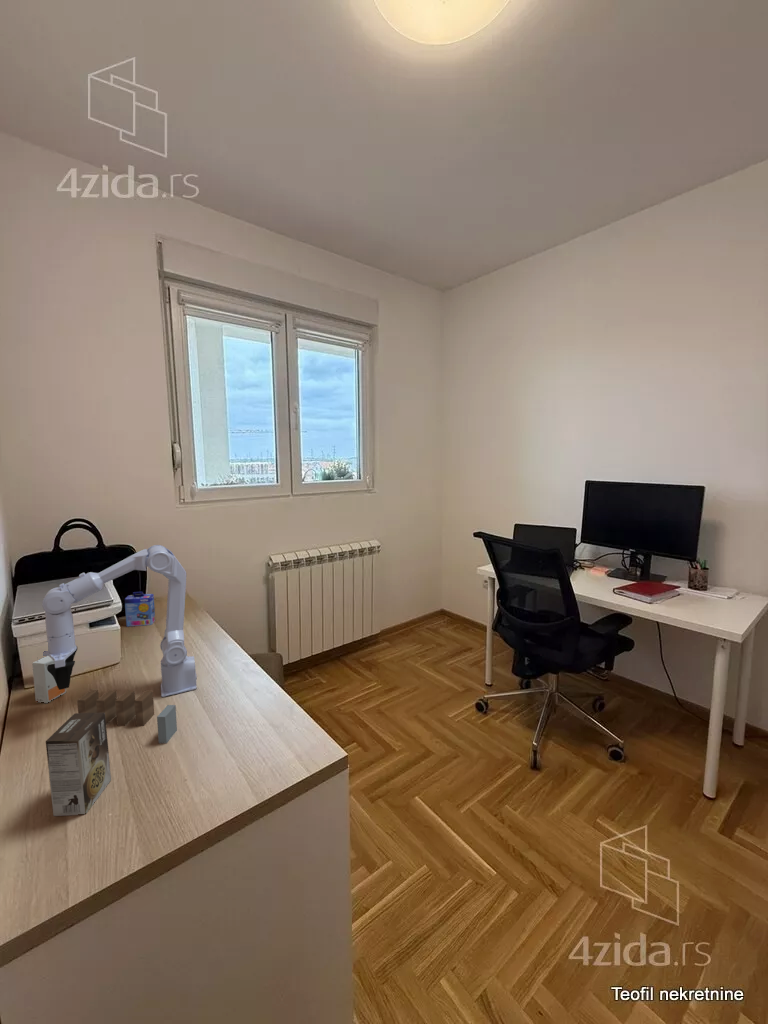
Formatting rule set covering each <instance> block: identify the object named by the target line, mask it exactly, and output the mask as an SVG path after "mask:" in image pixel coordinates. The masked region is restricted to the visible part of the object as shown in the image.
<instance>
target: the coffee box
mask: <svg viewBox="0 0 768 1024" xmlns="http://www.w3.org/2000/svg"><path fill="white" fill-rule="evenodd" d="M108 742H109V741H108V731H107V725H106V720H105V713H78V712H77V713H73V714H72V715H71V716H70V718H68V719H67V720H66V721H65V722H64V723H63V724H62V725H60V727H59V728H58V729H57V730H55V732H54V733H53V734H52V735H50V736H49V738H47V739H46V740H45V748H46V759H47V766H48V768H47V769H48V777H49V785H50V786H49V787H50V795H51V796H50V797H51V805H52V814H53V815H52V816H53V817H61V816H62V817H63V816H79V815H78V814H84V815H86V814H88V813H89V811H90V810H91V808H92V807H93V805H94V804H95V803H94V802H96V801H97V800H98V799H99V798H100V795H102V793H103V792H104V791H105V789H106V787H107V786H108V785H109V783H110V782H111V781H112V775H111V765H110V763H111V762H110V754H109V753H110V752H109V743H108ZM88 810H89V811H88ZM85 813H86V814H85Z"/></svg>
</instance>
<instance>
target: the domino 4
mask: <svg viewBox="0 0 768 1024" xmlns="http://www.w3.org/2000/svg"><path fill="white" fill-rule="evenodd" d="M154 701H155V700H154V690H152V689H150V690H144V691H143V692H142V693H141V694H140V695H139V696H138V697H137V698H135V701H134V703H135V716H134V717H135V726H136V727H144V726H145V725H147V723H148V722H149V721H150V720H151V719H152V717H154V716H155V704H154Z"/></svg>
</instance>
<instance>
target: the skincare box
mask: <svg viewBox="0 0 768 1024" xmlns="http://www.w3.org/2000/svg"><path fill="white" fill-rule="evenodd" d="M31 664H32V673H33V675H32V676H33V677H32V678H33V685H34V686H33V688H34V697H35V698H34V699H35V702H36V701H38V702H37V703H41V702H44V703H43V704H48V702H49V703H50V702H51V700H52V701H53V699H54V700H55V699H57V698H59V697H61V696H62V695H65V694H66V693H67V688H65V689H61V690H59V689H58V687H57V684H56V682H55V679H54V677H53V676H52V675H51V673H49V672H48V670H47V666H48V665H51V664H55V662H54V661H53V660H52V659H51V658H50V657H49V656H46V657H43V658H41V659H39V660H38V659H37V660H35V661H33V662H32V663H31ZM60 695H61V696H60Z"/></svg>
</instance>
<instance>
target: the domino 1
mask: <svg viewBox="0 0 768 1024" xmlns="http://www.w3.org/2000/svg"><path fill="white" fill-rule="evenodd" d="M99 698H100V696H99V690H98V689H90V690H89V691H87V692H86V693H84V694H83V695H82V696H80V697H79V698H78V699H77V700H76V702H77V713H97V704H96V700H97V699H99Z"/></svg>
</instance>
